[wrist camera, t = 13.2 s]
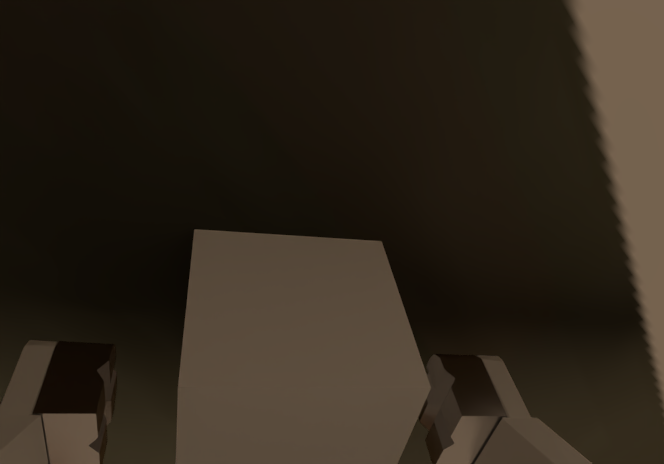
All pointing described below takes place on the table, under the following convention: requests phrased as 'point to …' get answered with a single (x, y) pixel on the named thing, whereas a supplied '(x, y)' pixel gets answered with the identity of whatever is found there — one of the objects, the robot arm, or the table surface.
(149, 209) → the table surface
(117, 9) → the table surface
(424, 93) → the table surface
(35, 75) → the table surface
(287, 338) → the grey cube
